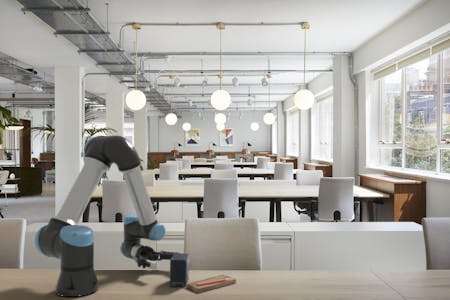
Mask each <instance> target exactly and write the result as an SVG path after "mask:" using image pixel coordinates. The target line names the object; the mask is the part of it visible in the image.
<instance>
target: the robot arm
mask: <svg viewBox="0 0 450 300" xmlns="http://www.w3.org/2000/svg"><path fill="white" fill-rule="evenodd" d="M83 152H84V153H83V156H84V157H83V158H82V160H83V161H82V162H83V163H84V164H83V166H82V168H81V170H80V172H79V173H78V175H77V177H76V179H75V181H74V183H73V185H72V187H71V188H70V190H69V192H68V194H67V196H66V198H65V200H64V202H63V204H62V205H61V207H60V209H59V211H58V212H57V214H56V215H55V216H52V217H51V218H50V220H49V221H48V223H47V224H45V225H43V226H41V227H40V228H39V229H38V230H37V232H36V234H35V237H34V244H35V247H36V249H37V251H38V253H41V254H42V255H44V256H46V257H49V258H51V257H52V258H55V259H59V260H60V270H59V271H60V272H59V275H58V278H57V281H56V285H55V294H56V293H57V294H59V295H63V296H79V295H85V296H87V295H86V294H89V295H91V294H90V293H92V292H94V293H95V291H96V290H97V291H99V289H100V287H99V285H100V283H99V280H98V277H97V275H96V271H95V268H94V267H95V266H94V261H95V260H94V259H95V258H94V256H95V255H94V252H95V251H94V250H95V249H94V247H95V246H94V244H95V243H94V242H95V237H94V231H93V229H92V228H91V227H89V226H86V225H81V224H80V225H78V224H79V223H80V220H81V218H82V217H83V214H84V212H85V210H86V209H87V206H88V204H89V202H90V201H91V199H92V196H93V195H94V192H95V190H96V188H97V186H98V184H99V183H100V181H101V179H102V177H103V175H104V173H107V172H109V171H110V169H111V167H112V165H113V164H115V165H116V166H117V169H118V171H119V172H120V173H122V176H123V178H124V182H125V184H126V187H127V190H128V193H129V196H130V200H131V203H132V206H133V208H134V210H135V213H136V215H135V214H132V215H131V214H129V215H125V217H124V219H123V242H122V243H121V244H120V247H119V251H120V254H122V256H124V257H126V258H127V259H131V260H133V261H135V263H137V264H136V265H137V268H141V267H142V269H146V268H148V269H150V270H151V269H152V270H153V271H156V270H157V262H156V261H159V262H160V261H162V260H167V261H170V259H171V258H172V256H173V254H174V253H178V252H177V251H175V252H174V251H165V250H160V251H155V249H154V248H153V247H151V246H149V245H146V244H144V243H143V244H142V242H141V241H142V240H141V239H144V240H149V241H154V242H155V241H156V242H158V241H161V240H163V239H164V237H165V235H166V227H165V226H164V225H163V224H162V223H159V222H158V219H157V216H156V213H155V210H154V206H153V204H152V200H151V197H150V194H149V191H148V188H147V186H146V182H145V179H144V175H143V173H142V172H143V171H142V169H141V165H142V162H141V159H140V156H139V153H138V151H137V150H136V148H135V147H134V145H133V144H132V143H131V141H130V140H128V139H127V138H126V137H124V136H122V135H116V134H115V135H106V136H105V135H97V136H93V137H91V138H89V139H88V140H87V141H86V142H85V144H84V147H83ZM98 288H99V289H98ZM97 291H96V292H97ZM57 294H56V295H57ZM92 294H93V293H92ZM79 297H80V296H79Z"/></svg>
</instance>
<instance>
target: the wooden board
mask: <svg viewBox="0 0 450 300" xmlns="http://www.w3.org/2000/svg"><path fill="white" fill-rule="evenodd" d="M224 278H225V279H227V278H229V279H230V280H228V281H224V282H219V283H213V284H208V285H203V286H197V283H203V282H208V281H213V280H219V279H224ZM233 283H234V284H237V278H235V277H232V276H229V275H225V274H219V275H217V276H212V277H208V278H207V277H206V278H204V279H199V280H195V281H192V282H191V281H190V282H187V284H186V288H187V289H189V290H191V291H194V292H195V293H197V294H199V293H203V292H207V291H211V290H214V289H218V288H222V287H225V286H230V285H233Z"/></svg>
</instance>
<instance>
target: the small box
mask: <svg viewBox="0 0 450 300" xmlns="http://www.w3.org/2000/svg"><path fill="white" fill-rule="evenodd" d="M189 254H190V253H180V252H177V253H176V252H175V253H174V254H173V256H172V258H171V259H170V260H169V287H170V288H173V287H175V288H178V287H181V288H182V287H184V288H185V287H186V284H187V283H189V282H188V281H189V279H190V278H189V276H190V275H189V274H190V270H189V269H190V257H189V256H190V255H189Z"/></svg>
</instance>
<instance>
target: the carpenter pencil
mask: <svg viewBox="0 0 450 300" xmlns="http://www.w3.org/2000/svg"><path fill="white" fill-rule="evenodd" d="M228 280H230V279H229V278H227V279H225V278H224V279H219V280H213V281H208V282H203V283H197V286H203V285H208V284H213V283H219V282H224V281H228Z"/></svg>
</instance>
